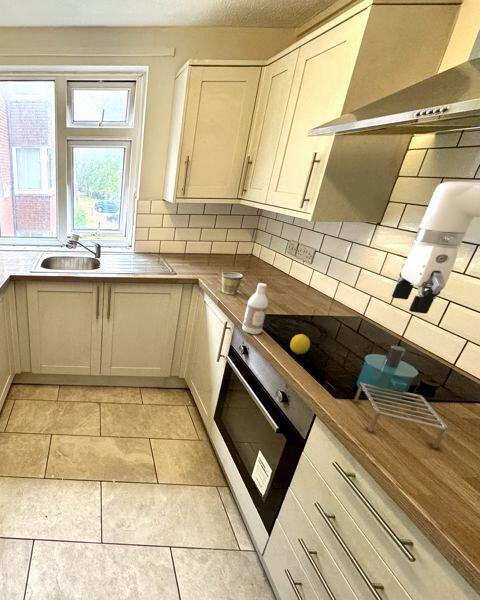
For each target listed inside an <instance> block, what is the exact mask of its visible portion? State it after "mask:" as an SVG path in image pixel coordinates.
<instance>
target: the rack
mask: <svg viewBox="0 0 480 600" xmlns="http://www.w3.org/2000/svg"><path fill="white" fill-rule="evenodd" d="M359 384H360V386H359V387H357V391H356V393H355V395H354V398H353V400H352V401H353V403H358V401H359V398H360V396H361V393H362V392H363V391H364V392H363V393H364V395H365V397H366V398H367V400H368V402H369V403H370V405H371V407H372V408H373V410H374V412H375V413H374V416H373V418H372V421H371V423H370V425H369V427H368V428H367V431H368V432H371V433H372V432H373V431H374V429H375V427H376V424H377V422H378V420H379V418H380V416H384V417H388V418H392V419H397V420H401V421H405V422H409V423H413V424H417V425H422V426H426V427H431V428H435V429H439V430H440V431H439V433H438V435H437V437H436V438H435V440H434V442H433V444H432V445H431V447H432V448H433V449H438V448H439V446H440V444H441V443H442V441H443V439H444V437H445V436H446V434H447V432H450V431H451V429H450V428H449V427H448V425H447V424H446V423H445V422H444V420H443V419H442V418H441V417H440V416H439V414H438V413H437V412H436V411H435V410H434V409H433V407H432V406H431V405H430V403H429V402H428V401H427V400H426V399H425V398H424V397H423V395H421V394H416V393H412V392H408V391H407V392H403V391H398V390H393V389H388V388H384V387H379V386H374V385H370V384H365V383H359ZM365 386H367V387H371V388H376V389H381V390H385V391H390V392H395V393H399V394H404V395H405V396H401V395H396V394H392V393H387V392H382V391H378V390H373V389H368V388H366V387H365ZM362 389H363V391H362ZM367 390H369V391H373V392H378V393H383V394H387V395H392V396H396V397H401V398H404V399H403V400H401V399H397V398H392V397H388V396H383V395H378V394H374V393H369V392H368V391H367ZM370 395H374V396H378V397H383V398H388V399H392V400H397V401H401V402H402V403H400V402H392V401H387V400H383V399H378V398H375V397H372V396H370ZM405 399H406V400H405ZM378 401H379V402H378ZM390 404H392V405H390ZM410 404H411V405H410ZM378 405H379V406H378ZM396 405H397V406H396ZM380 406H383V407H380ZM400 406H401V407H400ZM419 406H420V407H419ZM384 407H388V408H384ZM390 408H391V409H390ZM409 408H410V409H409ZM393 409H396V410H393ZM380 410H381V411H380ZM398 410H400V411H398ZM416 410H419V411H416ZM384 411H385V412H384ZM403 411H404V412H403ZM407 412H408V413H407ZM425 412H426V413H425ZM393 413H394V414H393ZM396 414H398V415H396ZM401 415H403V416H401ZM420 415H422V416H420ZM405 416H407V417H405ZM423 416H424V417H423ZM409 417H411V418H409ZM428 417H430V418H428ZM414 418H415V419H414ZM432 418H434V419H432ZM418 419H419V420H418ZM422 420H424V421H422ZM426 421H428V422H426ZM430 422H433V423H430ZM434 423H436V424H434Z"/></svg>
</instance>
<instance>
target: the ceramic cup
mask: <svg viewBox="0 0 480 600" xmlns="http://www.w3.org/2000/svg"><path fill="white" fill-rule="evenodd" d="M243 277H244V276H243V274H241V273H240V272H239V273H238V272H235V271H223V272H222V273H221V292H222V293H223V294H225V295H233V296H234V295H236V294H237V291H238V289H239V288H241V287H242V286H244V285H247V283H248V279H247V278H243ZM242 281H245V283H243V284H241V283H242ZM240 284H241V285H240Z"/></svg>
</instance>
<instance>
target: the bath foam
mask: <svg viewBox="0 0 480 600" xmlns="http://www.w3.org/2000/svg"><path fill="white" fill-rule="evenodd" d="M267 287H268V286H267V283H262V282H258V284H257V287H256V291H255V292H254V293H253V294H252V295H251V296H250V297H249V299H248V301H247V305H246V309H245V313H244V317H243V323H242V327H241V328H242V331H243V332H245V333H247V334H251V335H260V334H261V333H262V331H263V326H264V322H265V319H266V315H267V311H268V306H269V302H268V301H269V300H268V298H267V296H266V290H267Z"/></svg>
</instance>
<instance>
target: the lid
mask: <svg viewBox="0 0 480 600" xmlns="http://www.w3.org/2000/svg"><path fill="white" fill-rule="evenodd" d="M405 352H406V349H405V348H404V347H402V346H399V345H390V347H389V349H388V352H387V354H386V355H384V354H377V353H372V354H367V355H366V356H364V363H365V362H366V363H367V364H368V365H370V366H371V367H373V368H374V369H376V370H379V371H381V372H383V373H386V374H389V375H393V376H397V377H402V378H414V379H415V378H416V377H417V376H418V375H419V371H418V370H417V368H415V367H414V366H413V365H411V364H409V363H407V362H405V361H404V360H402V359H403V356H404V354H405Z"/></svg>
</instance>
